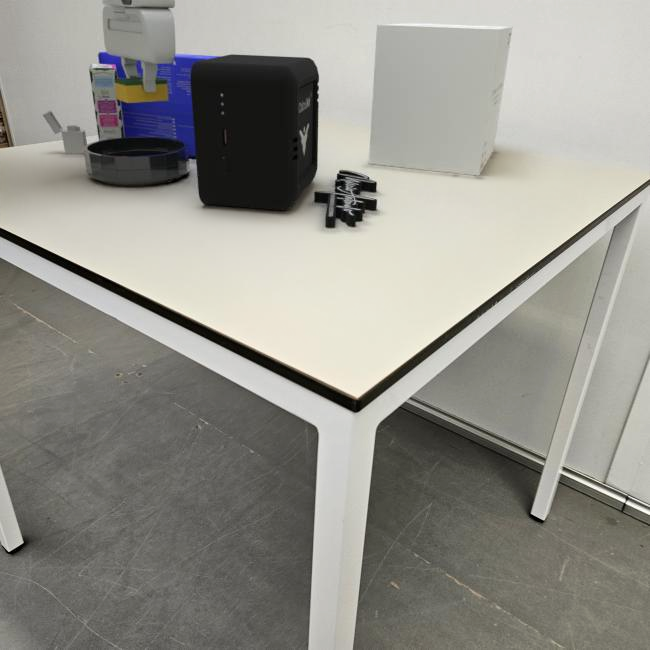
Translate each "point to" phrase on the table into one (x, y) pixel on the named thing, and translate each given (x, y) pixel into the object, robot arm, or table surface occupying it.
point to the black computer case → (255, 129)
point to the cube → (437, 95)
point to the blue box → (162, 102)
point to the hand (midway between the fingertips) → (141, 89)
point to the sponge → (140, 90)
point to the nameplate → (347, 198)
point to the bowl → (137, 160)
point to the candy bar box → (106, 101)
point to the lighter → (68, 135)
